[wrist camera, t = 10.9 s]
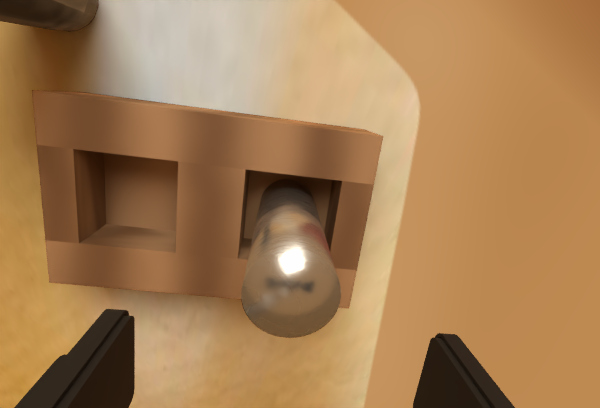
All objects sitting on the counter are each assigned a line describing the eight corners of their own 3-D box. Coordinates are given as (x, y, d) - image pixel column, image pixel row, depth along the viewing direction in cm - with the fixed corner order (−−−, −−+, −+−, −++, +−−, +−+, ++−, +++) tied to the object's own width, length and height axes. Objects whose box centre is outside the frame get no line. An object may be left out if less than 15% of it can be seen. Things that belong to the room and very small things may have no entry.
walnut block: (364, 129, 25) (383, 136, 20) (337, 273, 29) (349, 308, 24) (83, 92, 24) (31, 90, 19) (90, 250, 27) (49, 282, 22)
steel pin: (310, 233, 26) (332, 341, 14) (257, 227, 25) (237, 333, 14) (317, 182, 25) (348, 255, 13) (262, 175, 24) (245, 245, 13)
